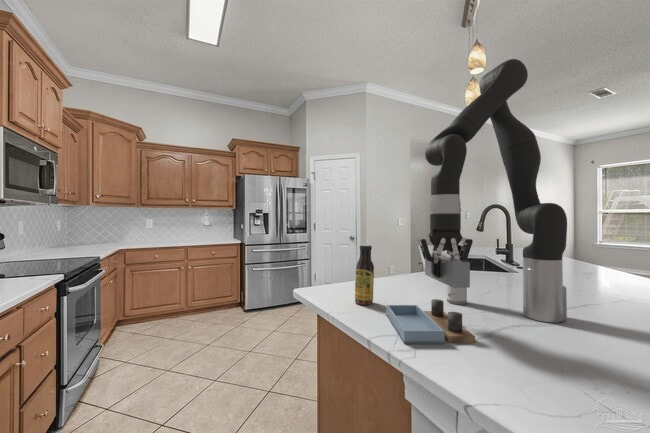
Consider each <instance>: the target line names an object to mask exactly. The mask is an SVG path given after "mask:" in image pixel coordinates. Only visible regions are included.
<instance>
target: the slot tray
mask: <svg viewBox="0 0 650 433" xmlns="http://www.w3.org/2000/svg"><path fill="white" fill-rule="evenodd" d="M385 311H386V312H385V313H386V314H385V315H386V317H387V319H388V320H389V323H390V324H391V325H392V326H393V327H392V328H394V330H395V332H396V333H397V335H398V337H399V338H400V339H401V341H402V343H403V344H404V345H445V340H446V339H445V338H444V330H443V329H442V328H441V327H440V326H439V325H437V324H436V323H435V322H434V321H433V320H432V319H431V318H430V317H429V316H428V315H427V314H426V313H425V312H424V311H425V310H423V309H422V308H421V307H420V306H419V305H417V304H386V305H385Z"/></svg>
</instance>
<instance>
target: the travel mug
mask: <svg viewBox="0 0 650 433" xmlns="http://www.w3.org/2000/svg"><path fill="white" fill-rule="evenodd" d="M461 247H462V245H461V244H458V246H457V248H458V252H459V253H460V250H461ZM446 256H448V257H451V256H450V254H449V252H448V250H446ZM467 260H468V259H467ZM467 260H466V261H467ZM467 262H468V261H467ZM446 301H447V303H449V304H451V305H458V306H462V305H463V306H464V305H466V304H467V303H468V290H467V288H453V287H451V286H449V285H446Z"/></svg>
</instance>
